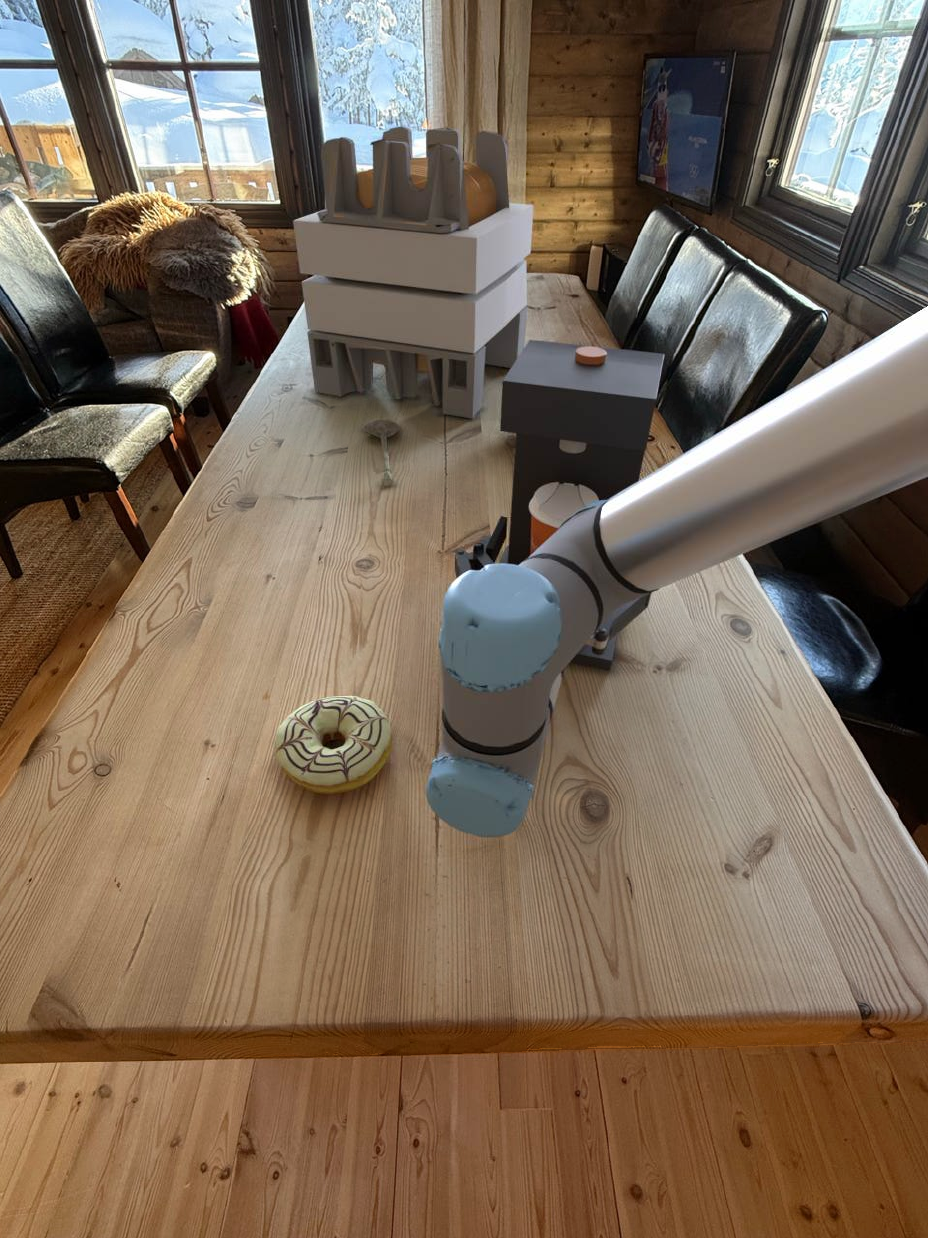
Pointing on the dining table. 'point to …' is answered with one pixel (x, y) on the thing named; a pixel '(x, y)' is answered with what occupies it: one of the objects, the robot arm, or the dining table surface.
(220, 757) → the dining table surface
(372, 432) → the soupspoon
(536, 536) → the paper cup
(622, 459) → the coffee maker
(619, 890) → the dining table surface
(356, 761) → the decorated donut
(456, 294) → the transformer
